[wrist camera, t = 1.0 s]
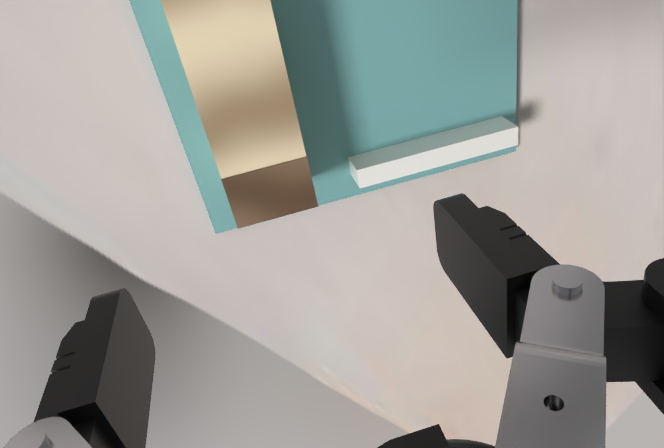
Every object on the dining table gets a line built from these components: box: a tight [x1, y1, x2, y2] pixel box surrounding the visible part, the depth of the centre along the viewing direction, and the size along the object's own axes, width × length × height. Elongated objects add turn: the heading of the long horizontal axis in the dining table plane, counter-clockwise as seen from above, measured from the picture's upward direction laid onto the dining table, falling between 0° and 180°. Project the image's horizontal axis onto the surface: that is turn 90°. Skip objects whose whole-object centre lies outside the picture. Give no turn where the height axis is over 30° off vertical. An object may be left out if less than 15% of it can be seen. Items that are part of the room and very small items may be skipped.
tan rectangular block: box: [161, 0, 318, 228], centre depth 26 cm, size 12×4×4 cm, turn 11°
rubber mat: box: [129, 0, 518, 234], centre depth 28 cm, size 16×20×1 cm
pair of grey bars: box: [348, 116, 518, 188], centre depth 27 cm, size 13×10×2 cm
